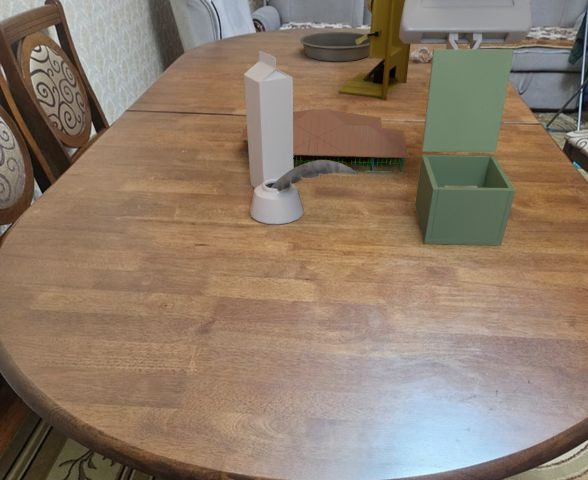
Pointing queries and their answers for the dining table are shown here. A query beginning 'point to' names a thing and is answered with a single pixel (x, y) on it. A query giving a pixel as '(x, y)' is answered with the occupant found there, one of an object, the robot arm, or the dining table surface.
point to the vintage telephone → (382, 52)
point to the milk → (269, 120)
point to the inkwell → (288, 192)
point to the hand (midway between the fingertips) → (463, 65)
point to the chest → (463, 199)
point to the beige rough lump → (421, 54)
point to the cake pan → (335, 46)
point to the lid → (466, 99)
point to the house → (344, 136)
